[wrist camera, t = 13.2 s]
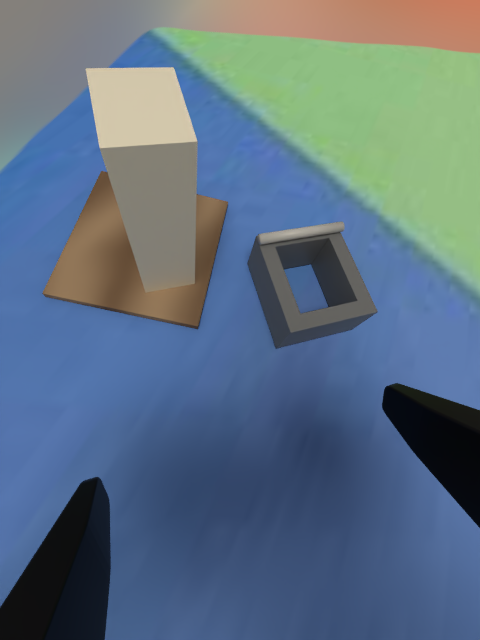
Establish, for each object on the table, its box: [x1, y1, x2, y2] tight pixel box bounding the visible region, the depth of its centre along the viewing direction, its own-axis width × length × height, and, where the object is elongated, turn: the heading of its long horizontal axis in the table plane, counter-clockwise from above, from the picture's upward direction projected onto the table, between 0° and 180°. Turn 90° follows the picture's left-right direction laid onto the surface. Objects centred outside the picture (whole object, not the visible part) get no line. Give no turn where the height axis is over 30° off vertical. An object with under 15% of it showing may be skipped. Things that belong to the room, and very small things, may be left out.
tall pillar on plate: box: [86, 68, 197, 293], centre depth 19 cm, size 5×4×13 cm
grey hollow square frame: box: [248, 222, 378, 349], centre depth 25 cm, size 8×7×5 cm
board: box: [42, 171, 228, 329], centre depth 26 cm, size 12×13×1 cm
